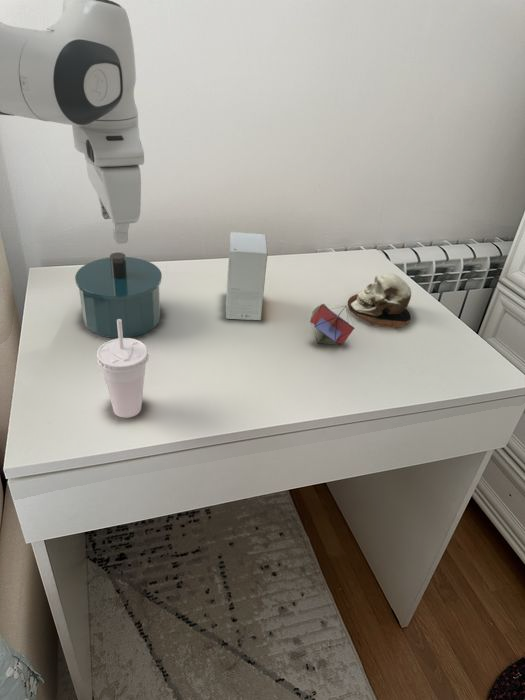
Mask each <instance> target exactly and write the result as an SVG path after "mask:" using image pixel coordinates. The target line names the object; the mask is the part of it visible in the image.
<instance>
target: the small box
mask: <svg viewBox="0 0 525 700" xmlns="http://www.w3.org/2000/svg"><path fill="white" fill-rule="evenodd" d="M267 245H268V244H267V234H265V233H264V234H263V233H253V232H252V233H250V232H239V231H238V232H237V231H230V234H229V250H228V264H227V281H226V297H225V319H227V320H229V319H230V320H243V321H245V320H247V321H261V320H262V315H263V303H264V294H265V293H264V292H265V283H266V272H267V270H266V269H267V261H268V246H267Z"/></svg>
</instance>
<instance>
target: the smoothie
mask: <svg viewBox="0 0 525 700" xmlns="http://www.w3.org/2000/svg"><path fill="white" fill-rule="evenodd" d="M117 328H118V338H112V339H110V340H107V341H106V342H104V343H103V344H101V345H100V346H99V347H98V349H97V351H96V360H97V364H98V365H99V367H101V370H102V374H103V377H104V381H105V385H106V388H107V391H108V395H109V399H110V402H111V406H112V410H113V413H114V414H115V415H116V416H117V417H119V418H122V419H123V418H124V419H128V418H133V417H136V416H137V415H138V414H140V413H141V411H142V405H143V393H144V387H145V386H144V384H145V375H146V367H147V366H146V365H147V363H148V361H149V357H150V354H149V348H148V346H147V345H146V344H145V343H144V342H143V341H141V340H138V339H136V338H133V337H129V338H123V332H122V320H121V319H118V320H117Z"/></svg>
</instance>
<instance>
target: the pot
mask: <svg viewBox="0 0 525 700" xmlns="http://www.w3.org/2000/svg"><path fill="white" fill-rule="evenodd" d="M78 291H79V299H80V305H81V314H82V320H83V322H84V325H85V327H86V328H87V329H88V330H89V331H90V332H92V333H93V334H95V335H98V336H101V337H105V338H110V339H117V338H118V328H117V320H118V319H121V320H122V332H123V338H133V337H134V338H135V337H138V336H142V335H144V334H146V333H148V332H150V331H152V330H153V329H155V328H156V326H158V324H159V322H160V320H161V319H160V318H161V303H160V302H161V298H160V285H159V286H158V287H157V288H156V289H155V290H154V291H152V292H150V293H148V294H146V295H143V296H140V297H136V298H131V299H122V300H110V299H102V298H97V297H93V296H91V295H88V294H86V293H84V292H83V291H81V290H80V289H79V288H78Z"/></svg>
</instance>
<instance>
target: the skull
mask: <svg viewBox="0 0 525 700" xmlns="http://www.w3.org/2000/svg"><path fill="white" fill-rule="evenodd" d="M411 298H412V290H411V286H410V285H409V284H408V282H406V281H405V280H404V279H403V278H402V277H401V276H399V275H397V274H395V273H393V272H391V273H390V272H386V273H381V274H378V275H375V277H374V282H371V283H368V284H367V285H366V287H365V288H364V290H362V291H360V292H359V293H356V294H354V295H352V296H350V297H349V298H348V300H347V309H348V310H349V311H350V313H352V314H353V315H354V316H356V317H357V318H358V319H360V320H362V321H364V322H366V323H369V324H370V325H371V326H377V327H382V328H396V329H397V328H401V327H404V326H407V325H408V324H409V323H411V320H412V315H411V312H410V311H409V310H408V309H407V307H408V306H409V304H410V302H411Z"/></svg>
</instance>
